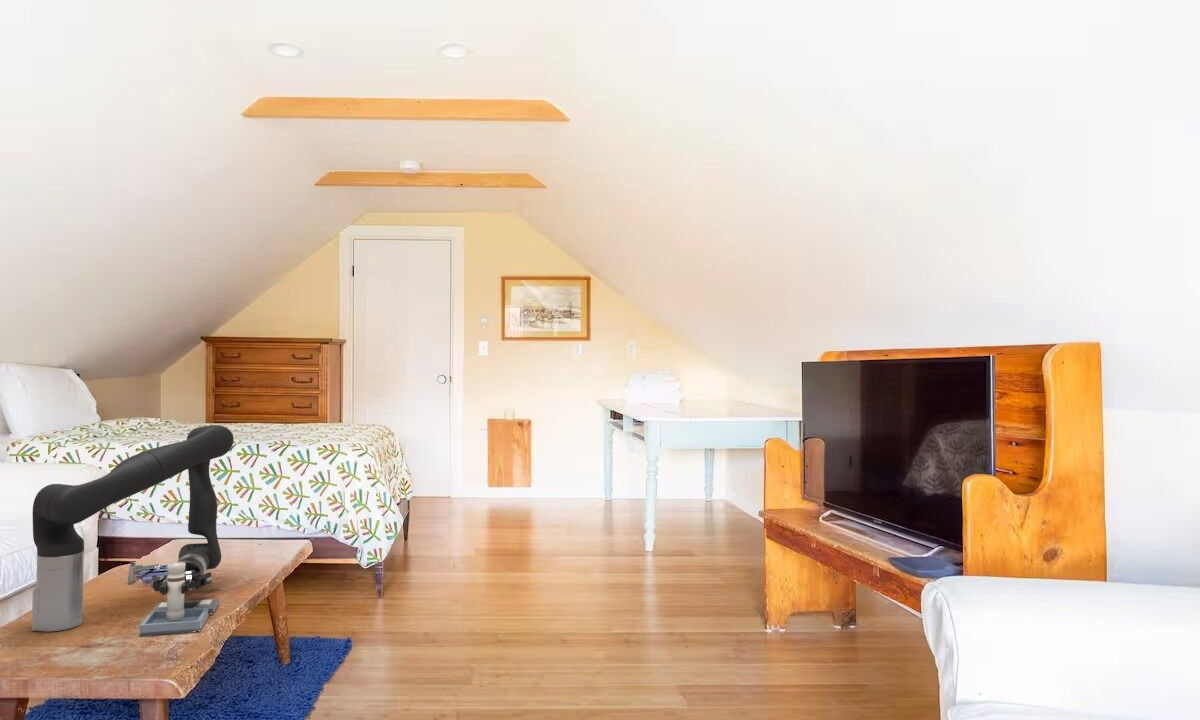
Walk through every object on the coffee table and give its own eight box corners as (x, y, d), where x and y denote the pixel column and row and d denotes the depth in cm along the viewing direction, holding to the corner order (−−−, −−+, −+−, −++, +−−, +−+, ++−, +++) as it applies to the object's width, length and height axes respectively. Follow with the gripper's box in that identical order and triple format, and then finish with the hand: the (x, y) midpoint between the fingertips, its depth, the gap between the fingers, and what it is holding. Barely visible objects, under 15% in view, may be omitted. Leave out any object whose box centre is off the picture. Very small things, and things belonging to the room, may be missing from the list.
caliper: (132, 585, 224) (132, 563, 225) (127, 585, 224) (128, 563, 224) (160, 567, 245) (160, 546, 245) (156, 567, 244) (156, 547, 244)
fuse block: (149, 619, 195) (150, 610, 195) (158, 608, 204) (158, 600, 204) (212, 614, 199) (213, 606, 199) (218, 604, 208) (218, 596, 208)
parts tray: (139, 636, 183) (139, 625, 183) (151, 621, 193) (151, 611, 193) (200, 632, 186) (200, 621, 186) (208, 617, 197) (208, 607, 197)
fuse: (164, 621, 187) (165, 566, 187) (168, 616, 191) (169, 562, 191) (182, 620, 189) (183, 565, 189) (185, 615, 192) (186, 561, 192)
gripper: (157, 558, 202) (139, 575, 185) (218, 555, 206) (207, 572, 189) (156, 588, 201) (139, 608, 185) (218, 584, 206) (206, 604, 189)
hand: (173, 590), depth 187 cm, fingers closed on fuse, 3 cm apart
